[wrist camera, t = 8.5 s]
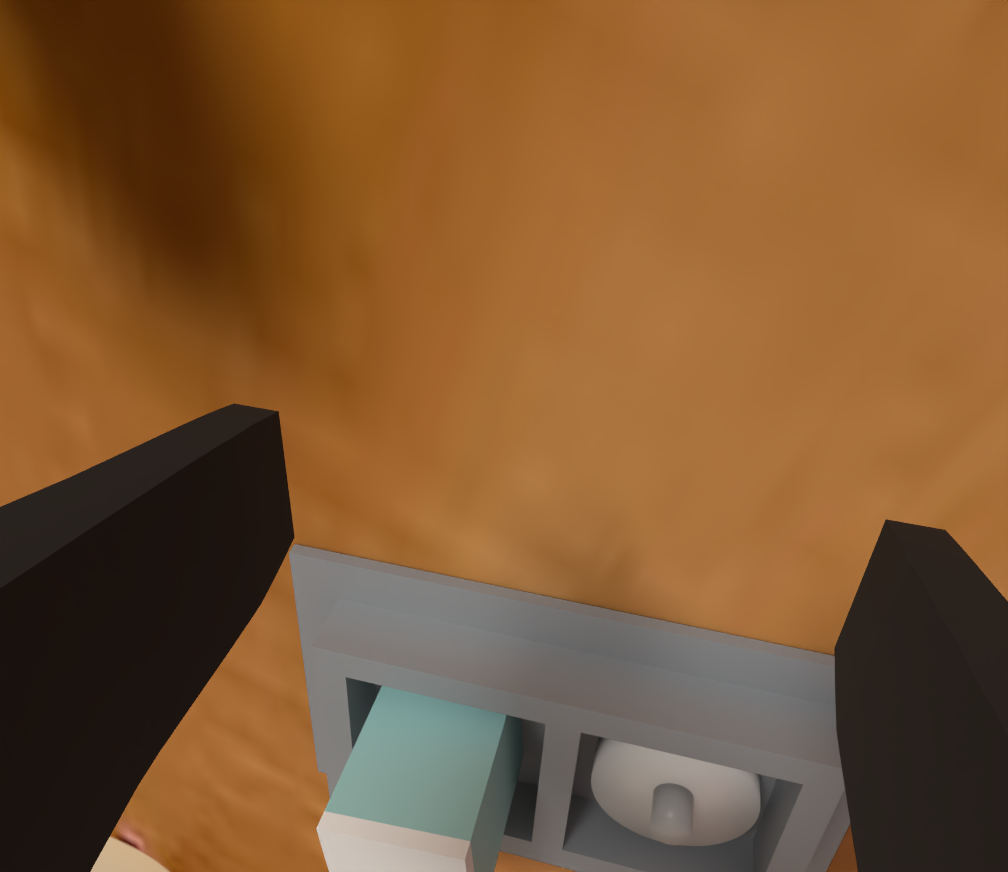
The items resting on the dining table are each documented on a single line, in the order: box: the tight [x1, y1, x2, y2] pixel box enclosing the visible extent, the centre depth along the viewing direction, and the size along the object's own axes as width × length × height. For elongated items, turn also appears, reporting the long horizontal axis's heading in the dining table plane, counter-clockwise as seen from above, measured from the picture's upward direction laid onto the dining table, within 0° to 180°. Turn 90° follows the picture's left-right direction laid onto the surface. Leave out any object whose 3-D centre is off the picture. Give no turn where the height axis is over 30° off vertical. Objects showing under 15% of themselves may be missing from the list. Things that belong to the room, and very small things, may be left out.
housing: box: [289, 544, 850, 872], centre depth 25 cm, size 18×11×3 cm, turn 87°
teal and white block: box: [316, 686, 523, 872], centre depth 24 cm, size 4×4×6 cm
